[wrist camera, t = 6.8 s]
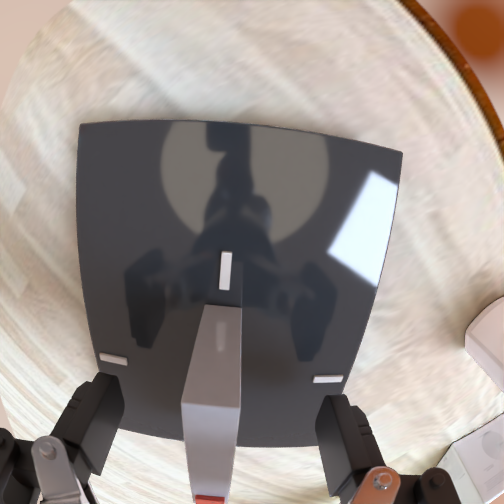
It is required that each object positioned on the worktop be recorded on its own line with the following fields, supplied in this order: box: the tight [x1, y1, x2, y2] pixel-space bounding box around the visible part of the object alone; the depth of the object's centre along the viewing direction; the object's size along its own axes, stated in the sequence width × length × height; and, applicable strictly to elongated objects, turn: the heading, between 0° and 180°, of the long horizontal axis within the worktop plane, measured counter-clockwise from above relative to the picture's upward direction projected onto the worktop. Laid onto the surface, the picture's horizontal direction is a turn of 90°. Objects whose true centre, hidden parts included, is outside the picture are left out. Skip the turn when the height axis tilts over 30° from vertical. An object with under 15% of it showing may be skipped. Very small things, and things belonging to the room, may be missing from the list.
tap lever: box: [181, 305, 242, 504], centre depth 9 cm, size 7×1×5 cm, turn 174°
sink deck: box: [76, 119, 403, 447], centre depth 12 cm, size 16×12×3 cm
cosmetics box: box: [437, 413, 504, 504], centre depth 17 cm, size 10×6×10 cm, turn 97°
